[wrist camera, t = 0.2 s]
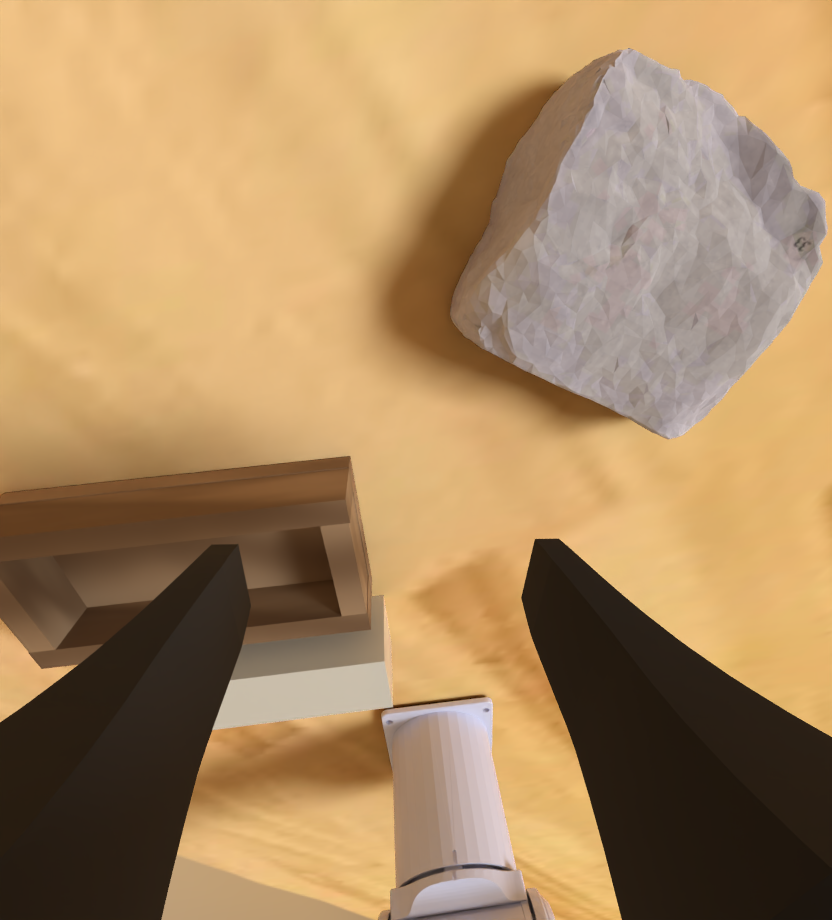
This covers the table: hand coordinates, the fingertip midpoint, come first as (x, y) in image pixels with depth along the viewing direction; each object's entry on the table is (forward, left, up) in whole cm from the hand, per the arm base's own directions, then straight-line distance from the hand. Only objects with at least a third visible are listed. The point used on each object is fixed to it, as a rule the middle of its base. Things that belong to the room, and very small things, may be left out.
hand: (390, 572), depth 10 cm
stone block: (+5, -10, -11) cm, 15 cm away
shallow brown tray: (-6, +10, -10) cm, 15 cm away
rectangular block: (-13, +7, -10) cm, 18 cm away
